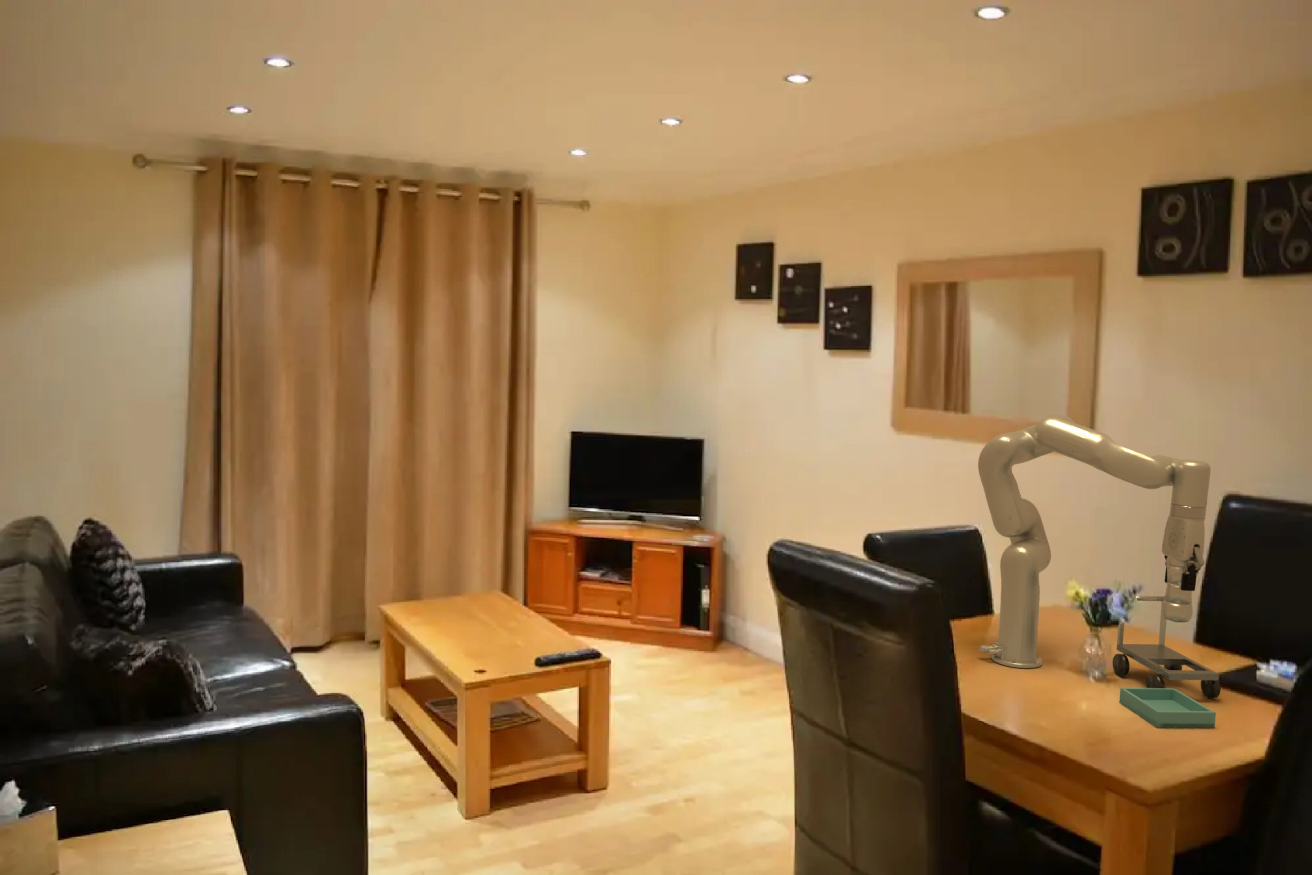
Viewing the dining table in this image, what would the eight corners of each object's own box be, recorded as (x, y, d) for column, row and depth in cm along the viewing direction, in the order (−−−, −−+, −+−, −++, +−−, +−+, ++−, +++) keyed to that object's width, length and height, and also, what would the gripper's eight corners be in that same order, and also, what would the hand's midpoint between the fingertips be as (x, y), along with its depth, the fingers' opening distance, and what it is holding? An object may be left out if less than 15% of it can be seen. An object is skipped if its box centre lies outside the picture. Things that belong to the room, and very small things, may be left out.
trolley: (1160, 702, 239) (1166, 620, 238) (1109, 670, 263) (1114, 595, 262) (1223, 703, 240) (1229, 620, 239) (1165, 670, 264) (1171, 596, 263)
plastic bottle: (1190, 627, 242) (1200, 543, 239) (1158, 621, 245) (1167, 539, 243) (1192, 621, 247) (1202, 539, 245) (1161, 615, 251) (1170, 535, 248)
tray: (1156, 727, 223) (1158, 712, 223) (1119, 702, 239) (1120, 687, 239) (1214, 728, 224) (1215, 712, 223) (1173, 702, 240) (1174, 688, 239)
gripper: (1152, 505, 252) (1144, 577, 253) (1193, 518, 234) (1184, 595, 236) (1182, 506, 252) (1174, 578, 254) (1225, 519, 235) (1216, 596, 237)
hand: (1179, 586), depth 245 cm, fingers closed on plastic bottle, 6 cm apart
